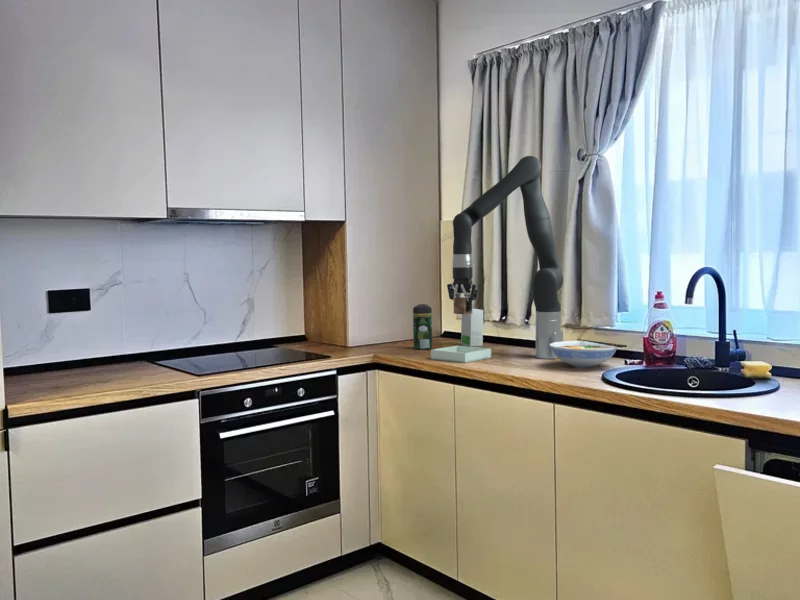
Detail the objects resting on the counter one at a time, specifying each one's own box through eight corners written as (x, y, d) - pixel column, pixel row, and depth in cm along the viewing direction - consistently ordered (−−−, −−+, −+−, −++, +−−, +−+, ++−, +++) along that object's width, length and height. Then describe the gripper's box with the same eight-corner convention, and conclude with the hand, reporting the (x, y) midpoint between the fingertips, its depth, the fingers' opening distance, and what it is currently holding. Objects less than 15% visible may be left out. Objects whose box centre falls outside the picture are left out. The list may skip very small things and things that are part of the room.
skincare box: (460, 344, 297) (460, 308, 296) (473, 343, 300) (473, 308, 299) (470, 346, 290) (470, 310, 289) (484, 345, 292) (483, 309, 291)
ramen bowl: (534, 363, 242) (534, 340, 242) (588, 359, 250) (588, 336, 250) (577, 374, 219) (577, 348, 218) (635, 369, 227) (635, 344, 227)
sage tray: (491, 357, 257) (491, 348, 256) (465, 363, 245) (465, 353, 245) (457, 354, 268) (457, 345, 267) (430, 359, 256) (430, 349, 256)
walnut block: (472, 313, 261) (472, 297, 260) (463, 314, 257) (463, 298, 257) (462, 312, 264) (461, 297, 264) (453, 313, 261) (453, 297, 260)
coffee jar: (413, 347, 291) (413, 303, 290) (432, 347, 291) (431, 303, 290) (413, 350, 281) (412, 305, 280) (432, 350, 281) (431, 304, 280)
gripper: (483, 266, 257) (484, 311, 258) (454, 266, 267) (454, 309, 268) (471, 266, 252) (471, 312, 253) (441, 266, 262) (442, 311, 263)
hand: (462, 310), depth 261 cm, fingers closed on walnut block, 5 cm apart
